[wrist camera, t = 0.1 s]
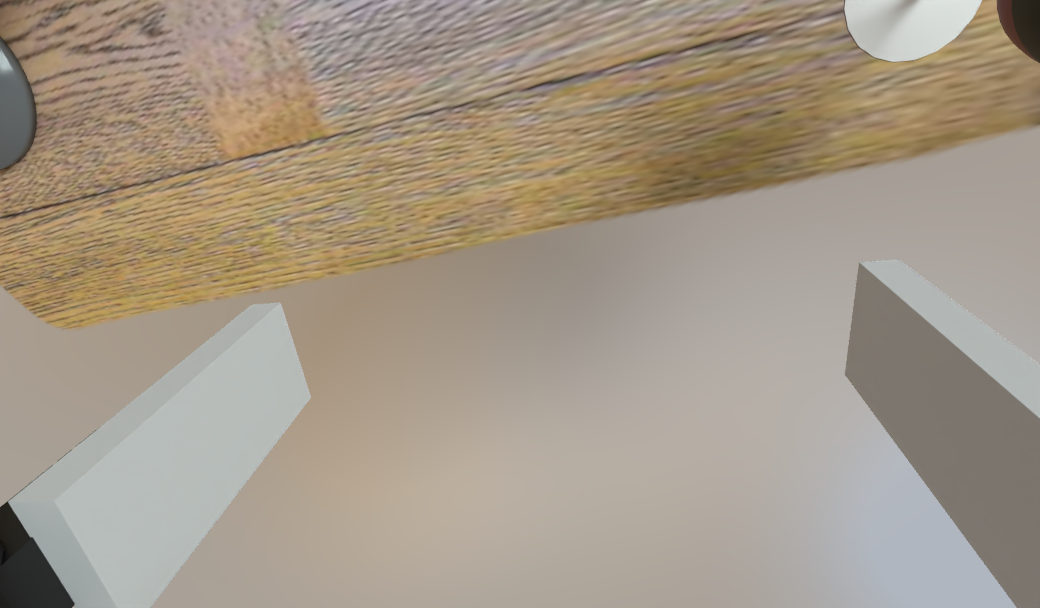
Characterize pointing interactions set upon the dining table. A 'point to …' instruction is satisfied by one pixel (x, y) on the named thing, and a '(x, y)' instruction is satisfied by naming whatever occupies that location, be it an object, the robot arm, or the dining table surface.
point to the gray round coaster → (14, 109)
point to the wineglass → (933, 25)
